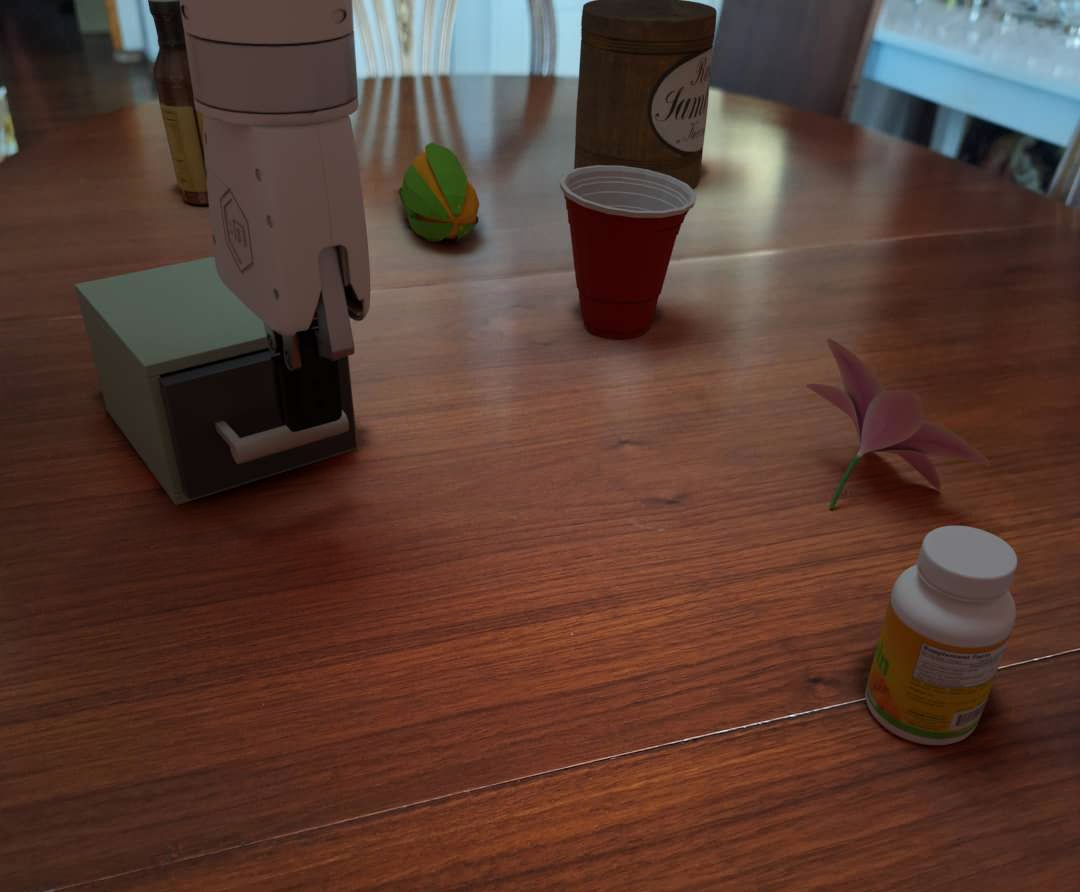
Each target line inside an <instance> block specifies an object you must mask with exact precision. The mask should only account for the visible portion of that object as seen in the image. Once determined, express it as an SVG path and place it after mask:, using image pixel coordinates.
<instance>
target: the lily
mask: <svg viewBox="0 0 1080 892" xmlns="http://www.w3.org/2000/svg"><path fill="white" fill-rule="evenodd" d="M826 342H827V344H828V347H829V349H830V351H831V354H832V355H833V358H834V359H835V360H834V361H835V362H836V365H837V367H838V370H839V373H840V376H841V380H842V384H843V389H844V391H843V390H842V389H840V388H838V387H837V386H833V385H828V384H821V383H806V385H805V387H806V388H807V389H809V390H810V391H812V392H813V393H815V394H817V395H818V396H820V397H821V398H823V399H824V400H826V401H827V402H829V403H830V404H831V405H834V406H835V408H838V409H839V410H840V411H842V412H843V413H844V414H846V415H847V416H849V417H850V418H851V420H852V422H853V424H854V428H855V430H856V433H857V437H858V440H859V448H858V449H859V450H858V451H857V454H855V456H854V458H853V460H851V462H850V463H849V465H848V467H847V469H846V471H845V472H844V474H843V476H842V478H841V480H840V482H839V484H838V486H837V489H835V490H836V491H835V493H834V495H833V497H832V500H831V502H830V504H829V506H828V508H830V509H832V510H834V509H835V506H836V504H837V503H838V500H839V497H840V495H841V492H842V491H843V489H844V487H845V485H846V483H847V480H848V479H849V477H850V475H851V473H852V472H853V470H854V468H855V467H856V466H857V464H858V462H859V461H860V460H861V458H862V457H863V456H864V455H865V454H869V453H887V454H888V453H889V454H894V455H898V456H899V457H900V458H902V459H903V460H904V461H905V462H907V463H908V464H909V465H910V466H911V467H912V468H913V469H914V470H915V471H917V472H918V473H919V474H920V475H921V476H922V477H923V478H924V479H925V480H926V481H927V482H929V484H930V485H932V486H933V488H934V489H936V490H937V491H940V490H941V489H942V483H941V480H940V477H939V474H938V471H937V468H936V466H935V464H934V462H933V461H932V460H931V458H929V457H928V456H932V457H944V458H951V459H958V460H962V461H965V462H970V463H974V464H977V465H982V466H987V467H990V466H992V464H991V462H990V460H989V459H988V458H987V457H985V455H984V454H982V453H981V452H980V451H979V450H978V449H977V448H976V447H974V446H973V445H972V444H970V443H969V442H968V441H967V440H965V439H964V438H962V437H961V436H959V435H958V434H956V433H955V432H954V431H952V430H950V429H949V428H947V427H944V426H943V425H941V424H940V423H937V422H933V421H930V420H927V419H924V418H925V415H924V414H925V413H924V404H923V401H922V398H921V397H920V395H919V394H918V393H917V392H914V391H913V390H908V389H889V390H886V388H885V386H884V385H883V383H882V381H881V379H880V378H879V377H878V375H877V374H876V373H875V372H874V371H873V370H872V369H871V367H869V366H868V365H867V364H866V363H865V362H863V361H862V359H860V358H859V357H858V356H856V354H854V353H853V352H852V351H850V350H849V349H847V348H846V347H845V346H843V345H842V344H840V343H839V342H837V341H836V340H834V339H832V338H829V337H828V338H827V339H826Z"/></svg>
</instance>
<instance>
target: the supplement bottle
mask: <svg viewBox="0 0 1080 892" xmlns="http://www.w3.org/2000/svg"><path fill="white" fill-rule="evenodd" d="M1017 566H1018V556H1017V554H1016V552H1015V550H1014V549H1013V547H1012V546H1011V545H1009V544H1008V542H1006V540H1004V539H1002V538H1001V537H999V536H997V535H995V534H993V533H991V532H988V531H986V530H984V529H981V528H976V527H973V526H967V525H945V526H941V527H937V528H934V529H932V530H931V531H929V532H928V533H927V534H926V535H925V537H924V538H923V540H922V543H921V547H920V549H919V553H918V557H917V561H916V564H914V565H912V566H910V567H908V568H907V569H905V570H904V571H903V572H901V574H900V575H899V576H898V577H897V578H896V581H895V582H894V584H893V587H892V590H891V593H890V596H889V601H888V605H887V608H886V612H885V616H884V620H883V622H882V623H883V624H882V628H881V631H880V635H879V639H878V642H877V646H876V649H875V653H874V657H873V660H872V663H871V667H870V671H869V674H868V676H867V677H868V678H867V682H866V687H865V695H864V696H865V701H866V705H867V708H868V709H869V711H870V713H871V715H872V716H873V717H874V718H875V720H876V721H877V722H878V723H879V724H880V725H881V726H883V727H884V729H886V730H887V731H889V732H890V733H891V734H893V735H896V736H897V737H899V738H901V739H903V740H906V741H908V742H912V743H915V744H921V745H925V746H946V745H952V744H957V743H959V742H961V741H963V740H965V739H967V738H968V737H969V736H970V735H971V734H972V733H974V731H975V729H976V728H977V726H978V724H979V721H980V720H981V717H982V714H983V711H984V709H985V706H986V704H987V701H988V698H989V695H990V692H991V689H992V687H993V684H994V682H995V679H996V676H997V673H998V670H999V667H1000V665H1001V663H1002V660H1003V656H1004V653H1005V651H1006V648H1007V646H1008V643H1009V641H1010V638H1011V635H1012V632H1013V629H1014V626H1015V622H1016V617H1017V609H1016V607H1017V606H1016V603H1015V600H1014V598H1013V595H1012V594H1011V593H1010V591H1009V590H1010V587H1011V586H1012V584H1013V581H1014V580H1013V579H1014V576H1015V573H1016V570H1017Z"/></svg>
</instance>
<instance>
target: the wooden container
mask: <svg viewBox="0 0 1080 892" xmlns="http://www.w3.org/2000/svg"><path fill="white" fill-rule="evenodd" d="M717 16H718V13H717V9H716V8H715V7H713V6H711V5H709V4H705V3H703V2H702V3H701V2H698V1H692V0H591V1H587V2H586V3H584V4H583V5H582V10H581V20H580V21H581V22H580V27H581V28H580V38H581V39H580V49H579V50H580V52H579V65H578V66H579V67H578V85H577V96H576V109H575V113H576V114H575V136H574V140H575V141H574V143H575V145H574V148H575V149H574V162H573V163H574V164H573V170H574V169H576V168H582V167H589V166H596V165H603V166H626V167H633V168H640V169H647V170H651V171H654V172H658V173H661V174H665V175H669V176H671V177H673V178H675V179H678V180H680V181H682V182H684V183H686V184H688V185H689V186H690V187H691V188H692V189H693V188H694V187H696V186H697V185H698V184H699V182H700V179H701V169H702V163H703V162H702V161H703V151H704V145H705V136H706V128H707V127H706V126H707V118H708V116H707V115H708V108H709V99H710V98H709V97H710V83H711V74H712V62H713V53H714V52H713V49H714V48H713V47H714V42H715V41H714V40H715V36H716V27H717Z"/></svg>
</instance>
